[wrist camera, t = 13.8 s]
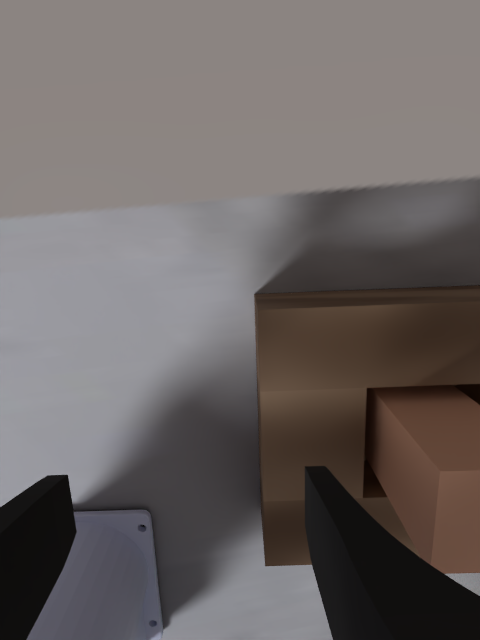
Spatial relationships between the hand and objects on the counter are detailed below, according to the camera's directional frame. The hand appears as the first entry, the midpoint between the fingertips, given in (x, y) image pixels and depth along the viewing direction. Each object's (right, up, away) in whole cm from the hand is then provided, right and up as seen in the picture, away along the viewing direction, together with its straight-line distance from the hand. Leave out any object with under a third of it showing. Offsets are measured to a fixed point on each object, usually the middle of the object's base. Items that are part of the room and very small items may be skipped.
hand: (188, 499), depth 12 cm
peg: (+10, +1, +9) cm, 14 cm away
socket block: (+10, +1, +10) cm, 14 cm away
